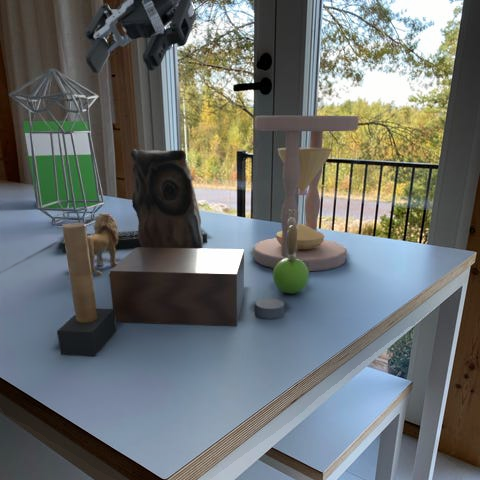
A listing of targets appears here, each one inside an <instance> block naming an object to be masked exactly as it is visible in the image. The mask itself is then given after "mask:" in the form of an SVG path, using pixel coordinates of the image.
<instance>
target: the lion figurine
mask: <svg viewBox="0 0 480 480" xmlns="http://www.w3.org/2000/svg"><path fill="white" fill-rule="evenodd" d="M92 225H93V230H94V233H93V234H91V235H87V240H88V247H89V255H90V263H91V271H92V275H94V276H100V275H101V274H102V272H101V271H100V270H96V269H95V258H96V266H98V267H102V266H104V264H105V263H104V260H103V253H105V252H107V251H108V253H109V264H110V265H111V266H112V267H115V266H116V265H117V264H118V263H119V262H117V261H116V252H117V251H116V250H117V249H115V246H116V244H117V243H118V232H119V230H118V225H117V220H116V219H115V217H114V216H113V215H111V214H110V213H106V212H101V213H99V214H98V215H96V216H95V222H94V223H93V224H92Z"/></svg>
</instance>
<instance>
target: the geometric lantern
mask: <svg viewBox="0 0 480 480" xmlns="http://www.w3.org/2000/svg"><path fill="white" fill-rule="evenodd" d="M52 78H54V80H55V82H56V84H57V85H58V88H59V89H60V91H61V92H57V93H52V94H50V92H51V86H52V85H51V84H52ZM39 79H40V80H39ZM38 80H39V81H38ZM37 81H38V82H37ZM35 82H37V84H36V85H35V86H34V87H33V88H32V90H30V92H29V93H28V94H23V93H19V92H20V91H22V90H23V89H25V88H27V87H28V86H30V85H31V84H33V83H35ZM63 84H64V85H65V86H66V88H67V89H68V90H69V92H67V91H66V89H65V87H64V85H63ZM76 86H77V87H78V88H80V89H81V90H83V91H85V92H87V93H88V94H89V95H85V94H83V93H82V92H81V91H80V90H79V89H78V88H76ZM68 95H69V96H68ZM8 96H9V97H10V98H11V99H13V101H15V102H16V103H17V104H18V105H20V106H21V107H22V108H23V109H25V110H26V111H27V116H28V121H29V126H30V140H31V151H32V162H33V173H34V184H35V192H34V196H35V195H36V198H35V204H36V210H38V211H40V212H41V213H43V214H45V215H46V216H48V217H49V218H50V219H51V223H52V226H53V227H54V226H55V227H62V225H63V224H60V223H63V222H65V221H78V223H84V224H85V225H86V227H87V226H90V225H93V224H95V218H96V216H95V214H96V213H97V212H98V211H99V210H100V209H101V208H102V207H103V206H104V205H105V199H104V194H103V189H102V184H101V179H100V173H99V169H98V164H97V160H96V155H95V149H94V144H93V139H92V127H91V120H90V119H91V118H90V107H91V106H92V105H93V104H94V103H95V101H96V100H97V99H98V98H100V96H99V95H98V94H96V93H95V92H93V91H91V90H90V89H88V88H87V87H86V86H83V85H81V84H80V83H79V82H77V81H75V80H74V79H72V78H71V77H69V76H67V75H66V74H65V73H63V72H61V71H59V70H58V69H57V68H47V69H46V70H45V71H43V72H42V73H40V74H39V75H37V76H35V77H34V78H32V79H30V80H29V81H28V82H26V83H24V84H23V85H21V86H19V87H17V88H16V89H15V90H13V91H12V92H11V91H10V93H9V94H8ZM64 96H65V98H64ZM70 97H71V98H70ZM45 99H46V100H49V101H51V102H50V103H49V104H48V105H47V106H46V104H45V101H44V100H45ZM82 100H85V102H84V103H82ZM24 101H25V102H24ZM58 101H61V102H62V101H63V102H68V108H67V107H65V106H64V105H62V104H61V103H59V102H58ZM77 101H78V102H77ZM72 102H73V104H74V107H75V108H76V109H77V110H74V109H71V108H72V105H71V104H72ZM29 103H30V104H31V106H30V105H29ZM40 104H42V107H43V108H40ZM53 105H56V106H58V107H59V108H61V109H63V110H64V111H66V113H65V115H64V116H63V119H62V120H61V121H62V123H61V125H60V124H59V123H58V122H57V121H58V120H57V119H56V118H55V117H54V115H53V114H52V112H51V111H50V110H49V109H50V108H51V107H53ZM39 108H40V109H39ZM41 112H47V114H48V115H49V116H50V117H51V119H52V121H55V123H56V124H57V125H58V127H59V130H58V131H52V130H51V128H50V127H49V126H48V124H47V123H46V122H45V121H46V120H45V119H44V118H43V116H42V115H41ZM85 112H86V118H87V121H88V127H89V131H88V129H87V127H86V125H85V123H84V121H85V120H84V119H83V117H82V116H81V113H85ZM31 113H32V114H33V116H32V114H31ZM69 113H72V114H73V113H74V114H76V115H75V117H74V119H73V121H74V122H73V124H72V126H71V129H70V131H64V130H63V129H62V126H63V124H64V122H65V121H67V118H68V115H69ZM36 114H38V116H39V117H40V119H41V121H44V122H45V124H46V125H47V126H48V128H49V129H50V131H39V132H32V128H33V123H34V121H35V117H36ZM78 117H79V118H80V121H82V122H83V124H84V126H85V127H86V129H87V131H71V130H72V128H73V125H74V123H75V121H77V118H78ZM31 121H32V124H31ZM72 132H73V133H88V139H89V145H90V152H91V159H92V165H93V172H94V178H95V185H96V192H97V198H98V200H85V195H84V190H83V185H82V180H81V175H80V169H79V164H78V159H77V154H76V149H75V143H74V138H73V133H72ZM32 133H50V139H51V148H52V158H53V168H54V178H55V188H56V199H57V201H55V202H52V203H49V204H46V205H42V202H41V195H40V188H39V180H38V173H37V166H36V159H35V151H34V144H33V135H32ZM52 133H54V134H58V140H59V147H60V154H61V161H62V168H63V175H64V182H65V189H66V196H67V200H59V197H58V186H57V176H56V166H55V156H54V146H53V136H52ZM90 133H91V134H90ZM60 134H62V137H63V143H64V150H65V157H66V163H67V170H68V176H69V183H70V189H71V196H72V200H69V196H68V188H67V181H66V174H65V167H64V160H63V153H62V146H61V139H60ZM64 134H70V135H71V140H72V145H73V151H74V156H75V161H76V166H77V171H78V177H79V182H80V187H81V192H82V197H83V200H74V193H73V186H72V180H71V173H70V167H69V160H68V154H67V147H66V141H65V135H64ZM37 190H38V191H37ZM38 198H39V202H38ZM61 202H67V208H62V206H61V205H60V203H61ZM69 202H73V207H72V208H69ZM75 202H84V207H79V208H77V207H76V206H75ZM86 202H98V203H97V204H95V205H92V206H88V207H87V205H86ZM56 203H58V204H59V206H60V207H61V208H44V207H47V206H50V205H53V204H56ZM39 205H40V206H39ZM91 209H92V210H91ZM87 210H91V211H87ZM48 211H51V212H53V211H54V212H60V213H58V214H56V215H52V214H51V213H49V212H48ZM70 214H76V216H77V217H71V216H70ZM80 214H82V216H81V217H80ZM61 215H62V216H61ZM66 215H67V217H66ZM87 217H90V219H89V218H87ZM56 219H61V220H58V221H56ZM81 221H82V222H81ZM86 222H88V223H86Z"/></svg>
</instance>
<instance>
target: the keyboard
mask: <svg viewBox="0 0 480 480" xmlns="http://www.w3.org/2000/svg"><path fill="white" fill-rule="evenodd" d="M201 231H202V236H203V238H202V240H203V244H204V243H208V233H206V232H205V231H204V230H202V229H201ZM87 235H92V234H91V233H87ZM136 247H142V246H141V245H140V240H139V235H138V230H136V231H134V230H133V231H132V230H131V231H121V232H119V231H118V243H117V244H116V246H115V250H118V249H119V250H120V249H133V248H134V249H135V248H136ZM61 248H62V252H63V253H66V248H65V242H64V237H63V238H62V241H61Z"/></svg>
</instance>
